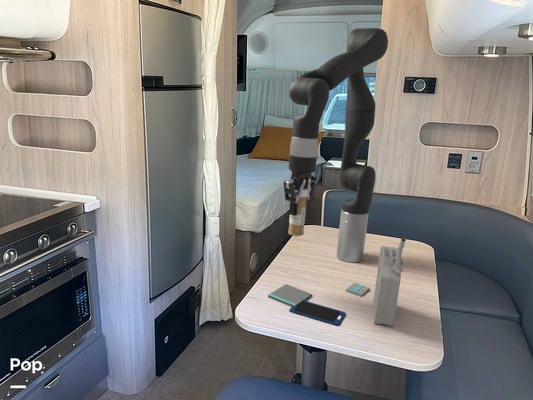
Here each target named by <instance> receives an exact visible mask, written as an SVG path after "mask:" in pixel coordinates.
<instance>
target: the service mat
mask: <svg viewBox="0 0 533 400" xmlns="http://www.w3.org/2000/svg"><path fill="white" fill-rule="evenodd" d="M312 295H313V294H312V293H310V292H308V291H306V290H302V289H300V288H297V287H294V286H292V285H289V284H286V283H285V284H284V285H281V286H280V287H278V288H277V289H275V290H273V291H272V292H270V293H269V294H267V297H268V298H269V299H272V300H274V301H277V302H280V303H282V304H284V305H287V306H289V307H290V308H291V307H292V306H294V307H295V306H297V305H298V304H299V303H301V302H302V301H308V299H310V298H311V297H312Z"/></svg>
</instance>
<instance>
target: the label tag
mask: <svg viewBox="0 0 533 400" xmlns="http://www.w3.org/2000/svg"><path fill="white" fill-rule="evenodd" d="M370 289H371V288H370V286H369V287H368V286H365V285H364V284H361V283H356V282H354V283H352V284H350V285H349V286H348V287H347V288H346V289H345V292H347V293H350V294H352V295H353V294H354V295H356V296H358V297H362V296H364V295H365V294H366V293H367V292H368V291H369V290H370Z"/></svg>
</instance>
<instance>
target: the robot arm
mask: <svg viewBox="0 0 533 400" xmlns="http://www.w3.org/2000/svg"><path fill="white" fill-rule="evenodd" d="M388 46H389V37H388V34H387V32H386V31H385V30H384V29H383V28H378V27H365V28H364V27H363V28H361V27H360V28H354V29H352V30H351V31H350V33H349V34H348V37H347V45H346V52H343V53H340V54H338V55H336V56H333V57H332V58H330V59H328V60H327V61H326V62H324V63H323V64H321V65H320V66H319V67H318V68H316V69H313V70H310V71H308V72H305V73H304V74H301V75H300V76H297V77H296V78H295V79H294V80H293V81H292V82H291V84H290V87H289V98H290V100H291V101H292V102H293V103H294V104H297V105H300V106H307V109H306V111H305V113H301V114H300V113H299V114H296V115H295V116H294V118H293V122H292V135H291V140H290V145H289V147H290V148H289V158H288V170H290V171H291V175H290V177H289V178H290V179H289V180H284V181H283V190H284V200H285V201H288V202H289V209H288V211H289V216H290V215H293V216H296V215H297V210H298V200H299V196H300V195H302V191H303V190H304V189H307V190H308V196H307V201H306V212H307V211H308V209H307V208H308V201H309V200H310V197H313V195H314V192H315V188H316V186H317V185H316V184H317V180H318V176H316V175H312V174H313V173H316V170H317V162H318V160H317V159H318V152H319V142H318V141H319V131H320V123H321V121H322V118H323V114H324V112H325V109H326V106H327V103H328V101H329V97H330V92H331V91H332V90H334V89H336V88H337V87H338V86H339V85H340V84H341V83H343V82H344V81H345V80H346V79H347V84H346V85H347V89H346V103H345V104H346V105H345V118H344V119H345V121H344V139H343V140H344V141H343V149H342V156H341V164H340V171H339V183H340V185H341V188H343V189H345V190H348V191H352V192H356V197H355V198H347V199H345V200H343V201H342V203H341V209H340V210H341V211H340V221H339V227H338V228H339V229H338V237H337V246H336V257H337V258H338V259H339V260H341V261H344V262H348V263H358V262H362V261H363V259H364V252H365V244H366V236H367V229H368V221H369V214H370V207H371V205H372V200H373V194H374V189H375V184H376V175H377V174H376V170H375V169H374V167H372V166H370V165H366V164H362V163H361V164H360V163H357V159H358V153H359V149H360V148H361V146H362V144H363V143H364V142H365V140H366V139H367V137H368V136H369V135H370V133H371V132H372V130H373V128H374V126H375V118H376V101H375V99H374V96H373V93H372V91H371V90H370V87H369V86H368V83H367V82H366V78H365V74H364V68H365V67H367V66H369V65H370V64H373V63H375V62H377V61H379V60H381V58H383V57H384V56H385V55H386V52H387V50H388ZM294 189H295V190H299V191H298V192H296V191H294ZM295 194H296V197H295Z"/></svg>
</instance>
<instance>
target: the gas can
mask: <svg viewBox="0 0 533 400" xmlns="http://www.w3.org/2000/svg"><path fill="white" fill-rule="evenodd" d="M406 241H407V239H406V238H405V237H401V239H400V242H399V243H398V247H397V246H396V247H394V246H388V245H380V250H379V257H378V264H377V265H378V266H377V272H376V278H375V279H376V280H375V285H374V287H375V288H374V292H373V302H372V303H373V304H372V305H373V322H374V323H373V324H376V325H384V326H387V327H394V325H395V318H396V313H397V305H398V300H399V292H400V288H401V287H400V286H401V278H402V275H401V273H403V272H404V270H403V267H401V265H403V264H404V263H403V262H404V258H403V257H402V255H403V254H402V253H403V250H404V247H405V243H406Z"/></svg>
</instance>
